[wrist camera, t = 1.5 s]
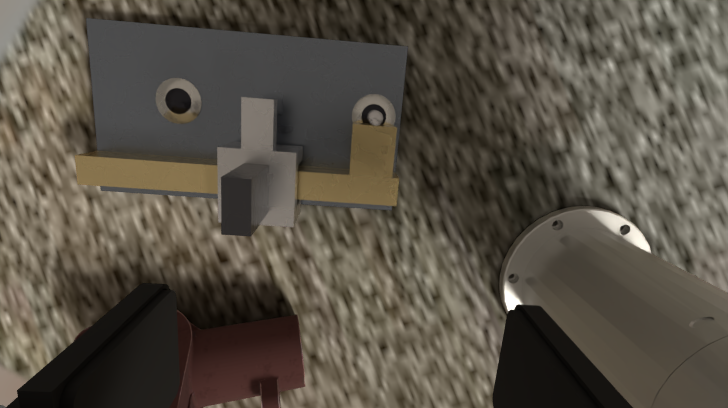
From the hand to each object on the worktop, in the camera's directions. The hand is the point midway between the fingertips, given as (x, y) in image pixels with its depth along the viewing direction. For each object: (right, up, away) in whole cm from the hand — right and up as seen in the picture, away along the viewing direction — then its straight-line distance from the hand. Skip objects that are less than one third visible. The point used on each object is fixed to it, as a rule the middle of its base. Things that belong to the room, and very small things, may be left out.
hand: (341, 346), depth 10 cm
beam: (-8, +8, +19) cm, 22 cm away
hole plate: (-8, +10, +20) cm, 24 cm away
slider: (-6, +7, +19) cm, 21 cm away
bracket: (-13, -8, +25) cm, 29 cm away
